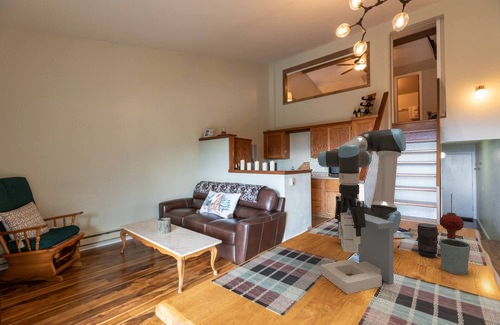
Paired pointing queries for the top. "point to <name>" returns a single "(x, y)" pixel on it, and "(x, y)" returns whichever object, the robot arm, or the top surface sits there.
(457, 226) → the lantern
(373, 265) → the socket block
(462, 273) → the grey green cup
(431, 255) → the camera lens
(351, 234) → the syrup box
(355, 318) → the top surface
